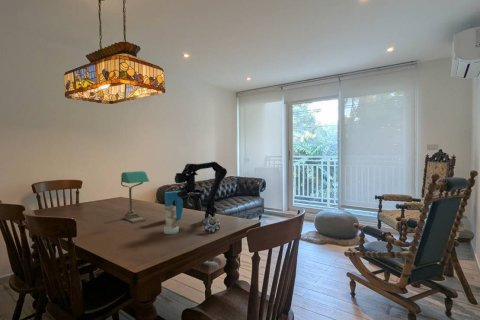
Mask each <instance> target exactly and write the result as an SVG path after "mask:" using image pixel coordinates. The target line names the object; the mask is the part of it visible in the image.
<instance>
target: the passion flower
mask: <svg viewBox="0 0 480 320" xmlns="http://www.w3.org/2000/svg"><path fill="white" fill-rule="evenodd" d="M201 221H202V223H203V224H205V225H204V227H203V229H204V230H205V229H207V231H208V232H212V233H214V232H215V230H220V229H221V224H222V223H221V222H220V219H219V218H218V219H217V215H215V216H214V217H212V216H211V215H208V217H207V218H206V221H205V217H203V218H202V220H201Z"/></svg>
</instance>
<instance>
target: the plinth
mask: <svg viewBox="0 0 480 320" xmlns="http://www.w3.org/2000/svg"><path fill="white" fill-rule="evenodd" d="M179 232H180V227H179V225H176V228H172V229H168V228H166V226H164V227H163V233H164V234H165V235H174V234H178V233H179Z"/></svg>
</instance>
